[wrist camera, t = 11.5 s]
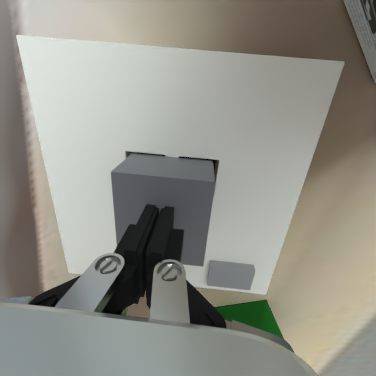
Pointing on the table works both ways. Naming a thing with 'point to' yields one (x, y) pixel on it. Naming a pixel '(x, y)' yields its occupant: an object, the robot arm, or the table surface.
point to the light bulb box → (365, 28)
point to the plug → (166, 196)
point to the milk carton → (252, 315)
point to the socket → (179, 141)
